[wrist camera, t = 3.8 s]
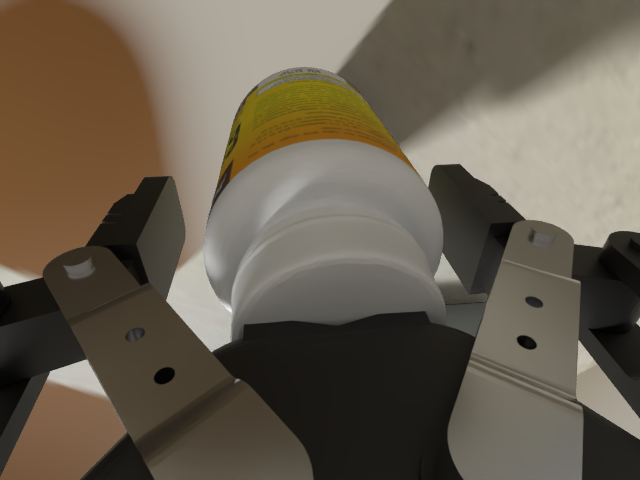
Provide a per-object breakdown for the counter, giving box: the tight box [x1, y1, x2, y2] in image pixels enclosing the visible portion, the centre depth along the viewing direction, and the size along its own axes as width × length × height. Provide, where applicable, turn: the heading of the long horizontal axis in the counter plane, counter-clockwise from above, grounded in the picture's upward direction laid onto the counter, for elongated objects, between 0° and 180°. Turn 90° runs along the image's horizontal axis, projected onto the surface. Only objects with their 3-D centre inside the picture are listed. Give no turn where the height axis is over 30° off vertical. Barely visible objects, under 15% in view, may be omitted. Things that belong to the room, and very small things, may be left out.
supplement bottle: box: [204, 67, 446, 342], centre depth 11 cm, size 6×6×10 cm
